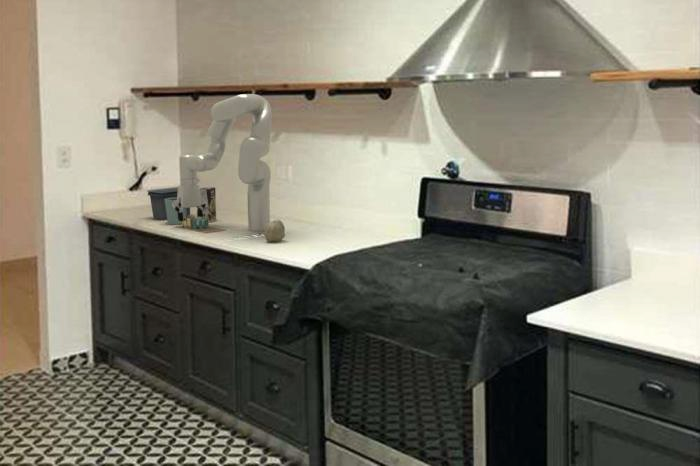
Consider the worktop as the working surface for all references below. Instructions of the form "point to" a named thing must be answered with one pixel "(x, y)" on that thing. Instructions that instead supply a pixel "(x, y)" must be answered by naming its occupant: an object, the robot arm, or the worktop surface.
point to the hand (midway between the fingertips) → (190, 219)
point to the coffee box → (209, 203)
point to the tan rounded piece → (274, 231)
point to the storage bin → (162, 201)
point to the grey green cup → (173, 212)
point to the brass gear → (187, 221)
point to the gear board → (201, 225)
